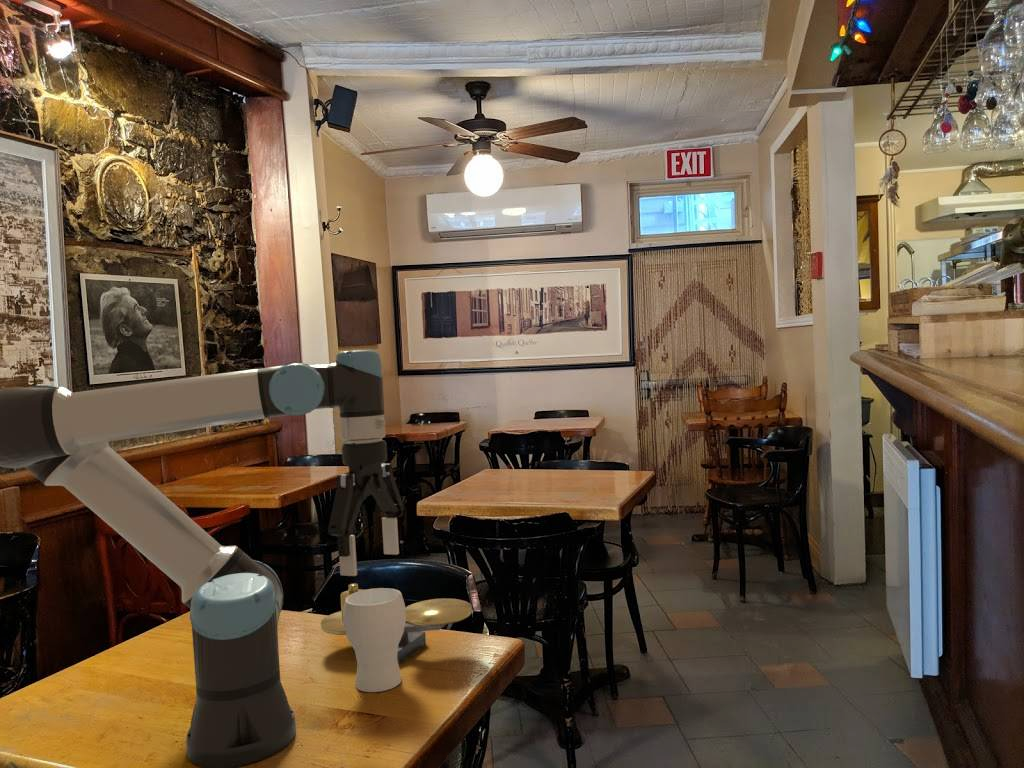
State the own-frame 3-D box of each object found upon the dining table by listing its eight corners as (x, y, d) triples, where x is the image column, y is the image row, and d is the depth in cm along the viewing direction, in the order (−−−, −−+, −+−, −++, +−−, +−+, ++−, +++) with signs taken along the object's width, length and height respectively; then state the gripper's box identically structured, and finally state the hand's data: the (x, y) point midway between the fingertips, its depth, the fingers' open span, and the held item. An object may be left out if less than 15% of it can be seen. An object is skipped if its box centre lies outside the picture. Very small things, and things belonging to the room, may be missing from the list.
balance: (455, 674, 128) (451, 603, 128) (308, 657, 140) (304, 593, 140) (485, 646, 140) (481, 582, 140) (347, 633, 152) (344, 573, 152)
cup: (404, 695, 121) (398, 604, 121) (340, 698, 121) (334, 607, 121) (414, 668, 132) (409, 585, 131) (355, 671, 132) (350, 588, 132)
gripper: (340, 449, 113) (348, 586, 113) (418, 432, 136) (424, 546, 137) (299, 449, 116) (308, 583, 116) (382, 433, 139) (389, 545, 139)
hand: (371, 564), depth 126 cm, fingers open, 13 cm apart
